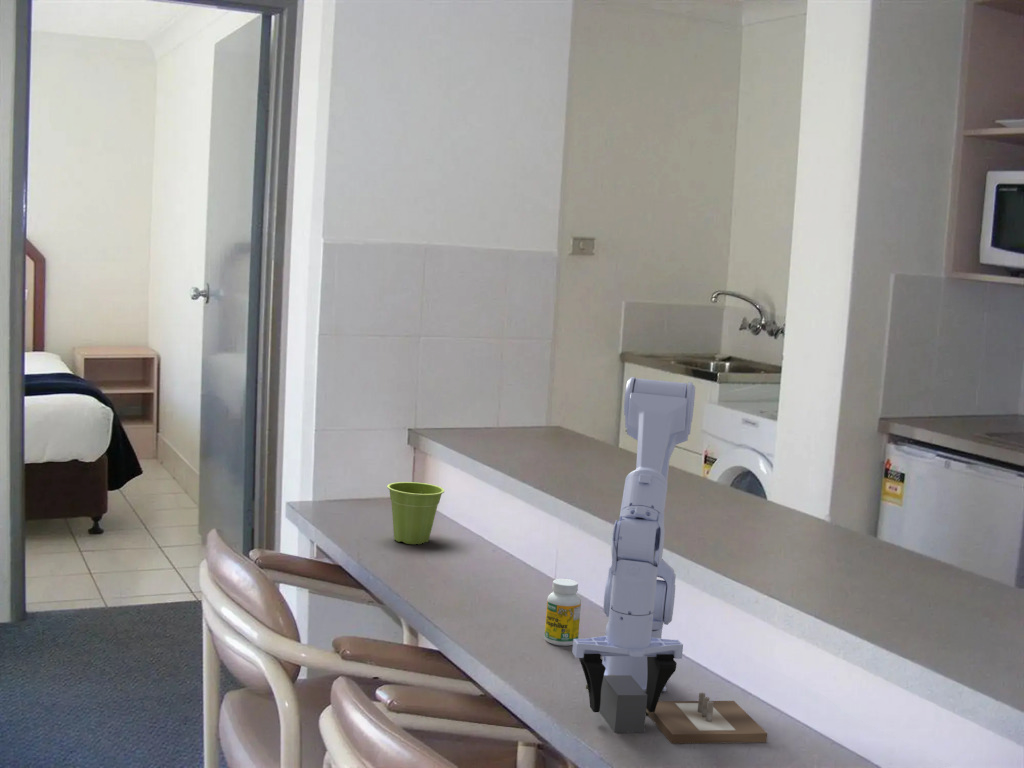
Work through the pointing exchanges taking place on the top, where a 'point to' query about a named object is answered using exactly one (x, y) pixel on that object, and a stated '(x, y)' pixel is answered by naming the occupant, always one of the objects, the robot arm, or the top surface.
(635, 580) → the robot arm
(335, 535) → the top surface
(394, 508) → the plant pot
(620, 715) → the block
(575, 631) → the supplement bottle
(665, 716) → the pin board
